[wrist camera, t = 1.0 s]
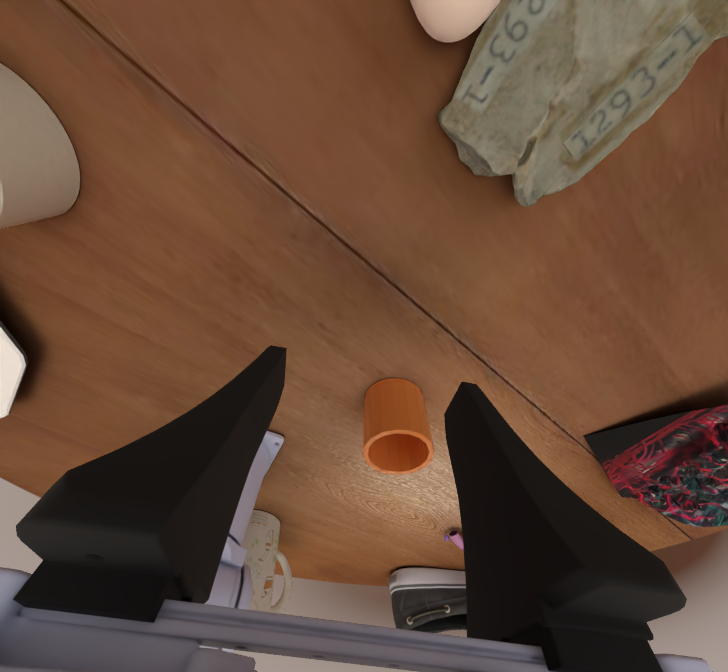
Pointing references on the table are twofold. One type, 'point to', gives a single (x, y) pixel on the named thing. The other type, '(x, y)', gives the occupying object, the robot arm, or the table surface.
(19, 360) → the plate
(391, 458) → the cup
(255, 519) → the mug
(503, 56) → the stone
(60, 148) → the jar
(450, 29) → the egg
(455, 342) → the table surface
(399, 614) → the boat shoe
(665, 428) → the fabric swatch
